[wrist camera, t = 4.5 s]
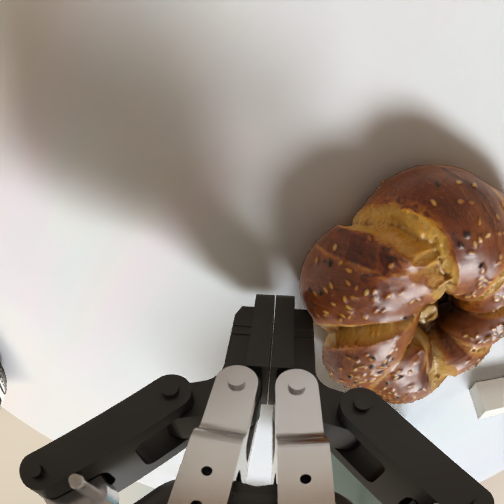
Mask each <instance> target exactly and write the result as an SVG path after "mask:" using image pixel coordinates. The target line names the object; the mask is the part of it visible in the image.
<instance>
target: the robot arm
mask: <svg viewBox="0 0 504 504" xmlns="http://www.w3.org/2000/svg"><path fill="white" fill-rule="evenodd" d="M274 305H275V295H263V294H257V295H256V300H255V307H246V306H242V307H241V308H240V310H239V311H238V312H237V313H236V314H235V318H234V322H233V327H232V332H231V336H230V341H229V345H228V350H227V355H226V359H225V364H224V367H223V369H222V370H221V371H220V372H219V373H218V375H217V376H215V377H214V378H212V379H209V380H206V381H200V382H194V383H189V382H188V381H187V380H186V379H185V378H184V377H182V376H179V375H172V374H171V375H165V376H162V377H160V378H158V379H157V380H155V381H153V382H152V383H150V384H149V385H147V386H146V387H144V388H142V389H141V390H139V391H138V392H136V393H134V394H133V395H131V396H129V397H128V398H126V399H125V400H123V401H121V402H120V403H118V404H116V405H115V406H113V407H111V408H110V409H108V410H106V411H105V412H103V413H101V414H100V415H98V416H96V417H95V418H93V419H91V420H89V421H88V422H86V423H84V424H83V425H81V426H79V427H77V428H76V429H74V430H72V431H70V432H69V433H67V434H65V435H63V436H62V437H60V438H58V439H56V440H54V441H53V442H51V443H49V444H47V445H45V446H44V447H42V448H40V449H38V450H36V451H34V452H32V453H31V454H29V455H27V456H26V457H25V458H24V459H23V460H22V462H21V464H20V470H19V471H20V477H21V479H22V481H23V483H24V484H25V485H26V486H27V487H28V488H30V489H31V490H33V491H35V492H36V493H38V494H39V495H40V496H41V497H43V498H44V500H45V501H46V503H47V504H119V495H118V492H119V491H121V490H123V489H124V488H126V487H128V486H129V485H131V484H132V483H134V482H136V481H137V480H139V479H140V478H142V477H143V476H145V475H147V474H148V473H150V472H151V471H153V470H154V469H156V468H157V467H159V466H160V465H162V464H163V463H165V462H166V461H168V460H169V459H170V458H172V457H173V456H175V455H176V454H178V453H179V452H181V451H182V450H183V449H185V448H186V447H187V448H186V451H185V454H184V457H183V460H182V463H181V465H180V468H179V471H178V474H177V477H176V480H172V481H169V482H167V483H164V484H163V485H161V486H159V487H157V488H156V489H154V490H153V491H151V492H150V493H149V494H147V495H146V496H144V497H143V498H142V499H140V500H138V501H137V502H136V503H134V504H353V503H352V502H351V501H350V500H348V499H347V498H346V497H344V496H342V495H341V494H339V493H337V492H334V483H333V472H332V462H331V453H332V454H333V455H334V456H335V457H336V458H337V459H338V460H339V461H340V462H341V463H342V464H343V465H344V466H345V467H346V468H347V469H348V470H349V471H350V472H351V474H352V475H353V476H354V477H355V478H356V479H357V480H358V481H359V482H360V483H361V484H362V485H363V486H364V487H365V488H366V489H367V490H368V491H370V492H371V493H372V494H373V495H374V496H375V497H376V498H377V499H378V500H379V501H380V502H381V503H382V504H494V499H493V497H492V495H491V493H490V492H489V491H488V490H487V489H485V488H484V487H483V486H482V485H481V484H479V483H478V482H477V481H476V480H475V479H474V478H472V477H471V476H470V475H469V474H468V473H467V472H465V471H464V470H463V469H462V468H461V467H459V466H458V465H457V464H456V463H455V462H454V461H452V460H451V459H450V458H449V457H448V456H447V455H446V454H444V453H443V452H442V451H441V450H440V449H439V448H437V447H436V446H435V445H434V444H433V443H432V442H431V441H429V440H428V439H427V438H426V437H425V436H424V435H423V434H421V433H420V432H419V431H418V430H417V429H416V428H415V427H413V426H412V425H411V424H410V423H409V422H408V421H407V420H405V419H404V418H403V417H402V416H401V415H400V414H399V413H398V412H396V411H395V410H394V409H393V408H392V407H391V406H390V405H389V404H387V403H386V402H385V401H384V400H383V399H382V398H381V397H380V396H379V395H377V394H376V393H375V392H374V391H372V390H370V389H367V388H361V387H359V388H353V389H350V390H349V391H347V392H346V393H344V392H340V391H337V390H334V389H331V388H328V387H327V386H325V385H324V384H322V383H321V382H320V381H319V379H318V378H317V376H316V373H315V352H314V332H313V318H312V317H311V315H310V314H309V312H308V310H302V309H295V297H294V296H282V295H276V306H275V318H274ZM273 325H274V331H273ZM272 339H273V343H272ZM271 351H272V355H271ZM270 362H271V366H270ZM269 373H270V383H269ZM268 384H269V400H268V404H270V405H273V417H272V474H271V485H266V486H259V487H255V486H251V485H248V484H245V483H246V478H247V471H248V464H249V460H250V455H251V451H252V446H253V441H254V437H255V432H256V427H257V422H258V419H259V416H260V407H261V404H267V394H268Z"/></svg>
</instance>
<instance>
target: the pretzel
mask: <svg viewBox="0 0 504 504" xmlns="http://www.w3.org/2000/svg"><path fill="white" fill-rule="evenodd" d="M444 292H446V293H447V294H448V300H447V301H446V302H444V303H442V304H440V305H438V299H440V298H441V297H442V295H443V294H444ZM300 294H301V299H302V301H303V304H304V306H305V308H306V310H308V312H309V314H310V315H311V317H312V318H313V323H314V324H318V325H319V326H320V327H321V328H322V329H323V330H326V331H328V332H329V333H328V336H327V337H326V339H325V341H324V345H323V350H322V353H323V355H322V359H323V364H324V366H325V368H326V369H327V372H328V373H329V375H330V377H331V378H333V379H334V380H335V381H336V382H338V383H340V384H342V385H343V386H344V387H346V388H350V389H353V388H359V387H361V388H367V389H370V390H372V391H374V392H375V393H376V394H377V395H379V396H380V397H381V398H382V399H383V400H384V401H385V402H388V403H392V404H401V403H402V404H405V403H412V402H414V401H416V400H420V399H423V398H424V397H426V396H427V395H429V394H430V393H432V392H433V391H434V390H435V389H436V388H437V387H439V385H440V384H441V383H442V382H443V380H444V379H445V378H446V377H447V376H448V375H449V376H454V377H455V376H457V375H459V374H460V373H462V372H466V371H468V370H470V369H472V368H473V367H476V366H477V365H478V364H479V363H481V361H482V360H483V359H484V357H485V355H487V353H489V351H490V348H491V345H492V344H494V343H495V342H496V341H498V340H499V339H500V338H502V337H504V194H503V193H502V192H501V191H499V190H497V189H496V188H494V187H492V186H490V185H489V184H487V183H486V182H484V181H483V180H481V179H479V178H478V177H476V176H475V175H473V174H471V173H470V172H468V171H466V170H463V169H460V168H456V167H451V166H443V165H420V166H415V167H412V168H409V169H406V170H404V171H402V172H400V173H398V174H396V175H394V176H392V177H391V178H389V179H387V180H383V181H382V184H381V185H380V186H379V187H378V188H377V189H376V190H375V192H374V193H373V194H372V195H371V197H370V198H369V199H368V200H367V201H366V203H365V205H364V206H363V207H362V208H361V209H360V210H359V211H358V212H357V214H356V215H355V217H354V218H353V223H352V225H351V226H342V225H336V226H334V227H333V228H332V229H331V230H329V231H328V232H327V233H325V234H324V235H323V236H322V237H321V238H320V239H319V240H317V241H316V243H315V244H314V246H313V247H312V248H311V250H310V251H309V253H308V255H307V257H306V259H305V261H304V264H303V267H302V271H301V275H300Z"/></svg>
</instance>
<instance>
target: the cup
mask: <svg viewBox="0 0 504 504" xmlns="http://www.w3.org/2000/svg"><path fill="white" fill-rule="evenodd" d="M331 462H332V472H333V483H334V492H337V493H339V494H341V495H342V496H344V497H346V498H347V499H348V500H350V501H351V502H352V503H353V504H382V503H381V502H380V501H379V500H378V499H377V498H376V497H375V496H374V495H373V494H372V493H371V492H370V491H368V490H367V489H366V488H365V487H364V486H363V485H362V484H361V483H360V482H359V481H358V480H357V479H356V478H355V477H354V476H353V475H352V474H351V472H350V471H349V470H348V469H347V468H346V467H345V466H344V465H343V464H342V463H341V462H340V461H339V460H338V459H337V458H336V457H335V456H334V455H333V454H332V453H331Z"/></svg>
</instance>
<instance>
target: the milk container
mask: <svg viewBox="0 0 504 504" xmlns="http://www.w3.org/2000/svg"><path fill="white" fill-rule="evenodd" d="M6 383H7V380H6V375H5V372H4V369H3V367H2V365H1V363H0V408H1V405H2V403H3V400H4V397H5V393H6Z"/></svg>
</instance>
